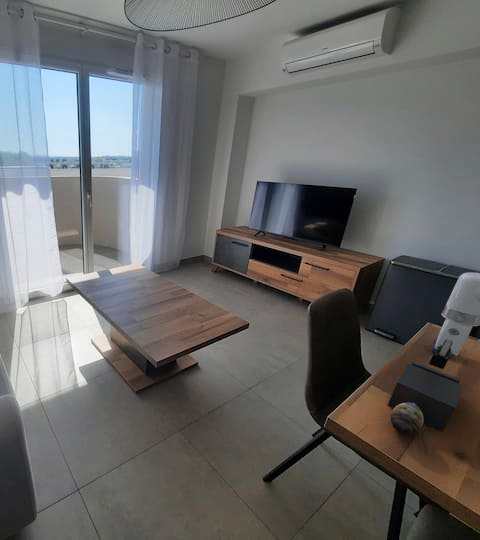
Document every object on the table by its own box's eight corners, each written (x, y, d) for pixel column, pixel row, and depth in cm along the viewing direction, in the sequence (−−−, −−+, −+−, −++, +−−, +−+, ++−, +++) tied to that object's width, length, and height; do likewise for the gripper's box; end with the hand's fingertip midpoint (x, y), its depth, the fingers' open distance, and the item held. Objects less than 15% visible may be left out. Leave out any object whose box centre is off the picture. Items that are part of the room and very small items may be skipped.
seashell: (392, 413, 80) (403, 390, 77) (421, 427, 76) (433, 404, 73) (381, 430, 75) (392, 407, 72) (411, 447, 71) (423, 423, 68)
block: (452, 360, 100) (456, 351, 99) (428, 351, 104) (432, 343, 103) (456, 349, 105) (460, 341, 104) (433, 341, 110) (437, 333, 109)
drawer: (408, 373, 93) (416, 356, 91) (452, 391, 86) (462, 373, 83) (395, 395, 85) (403, 377, 82) (443, 418, 77) (454, 398, 75)
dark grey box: (398, 385, 89) (408, 363, 86) (450, 408, 81) (462, 385, 78) (387, 405, 82) (397, 382, 79) (442, 432, 74) (455, 407, 71)
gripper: (479, 329, 76) (449, 383, 83) (484, 312, 84) (457, 362, 91) (438, 317, 82) (414, 369, 89) (447, 302, 90) (424, 350, 97)
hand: (436, 365), depth 90 cm, fingers closed
